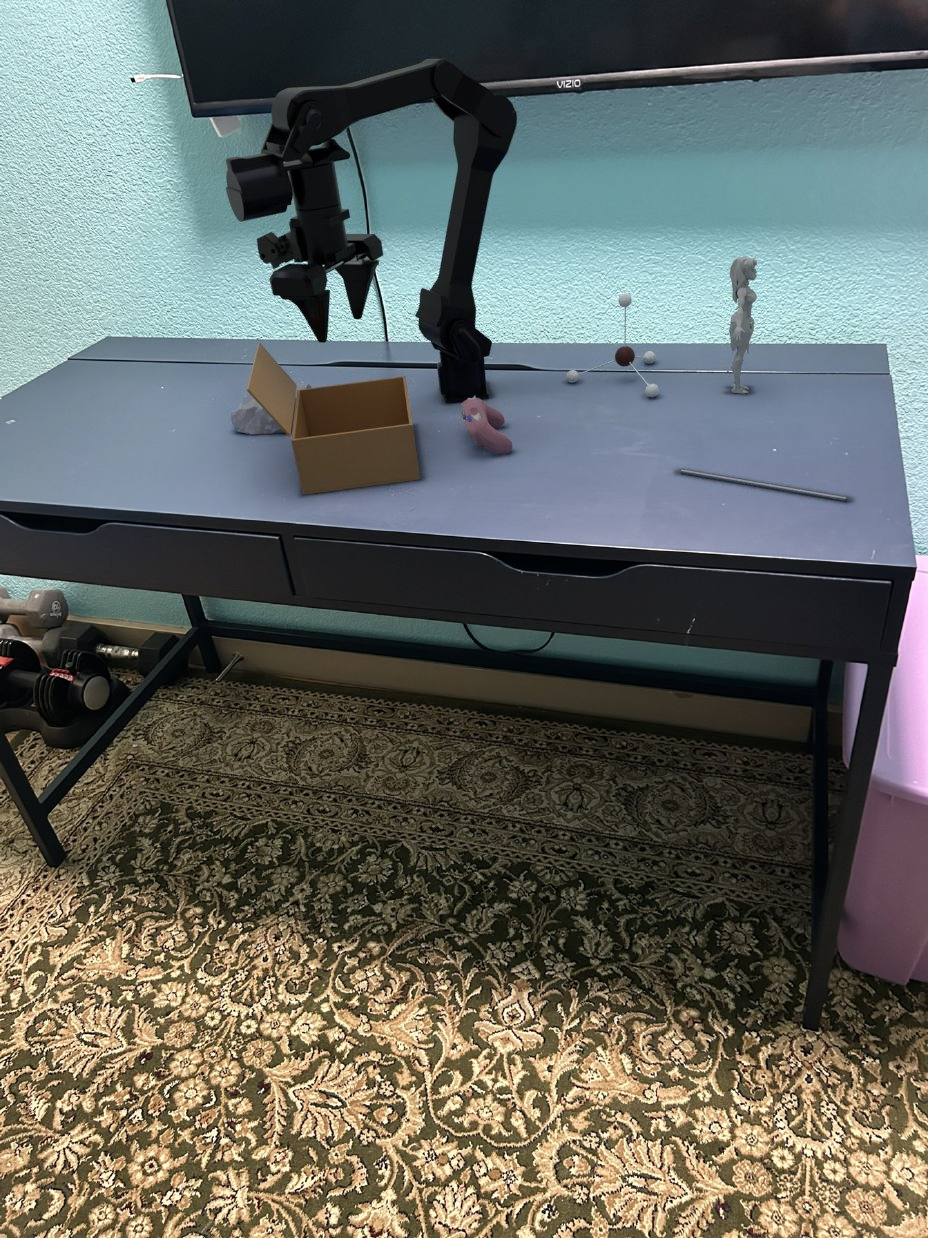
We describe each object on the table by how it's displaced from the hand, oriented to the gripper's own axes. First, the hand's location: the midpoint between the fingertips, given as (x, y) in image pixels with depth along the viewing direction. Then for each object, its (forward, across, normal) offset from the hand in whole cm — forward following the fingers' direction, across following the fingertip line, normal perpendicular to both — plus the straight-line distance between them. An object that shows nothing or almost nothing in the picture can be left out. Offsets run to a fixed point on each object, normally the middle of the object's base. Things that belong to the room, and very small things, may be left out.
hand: (340, 330), depth 120 cm
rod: (+14, +4, +56) cm, 58 cm away
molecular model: (+14, -22, +34) cm, 43 cm away
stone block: (+14, 0, -15) cm, 20 cm away
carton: (+14, +9, +6) cm, 18 cm away
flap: (+2, +14, -2) cm, 14 cm away
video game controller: (+14, +1, +20) cm, 25 cm away
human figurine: (+14, -23, +48) cm, 55 cm away
